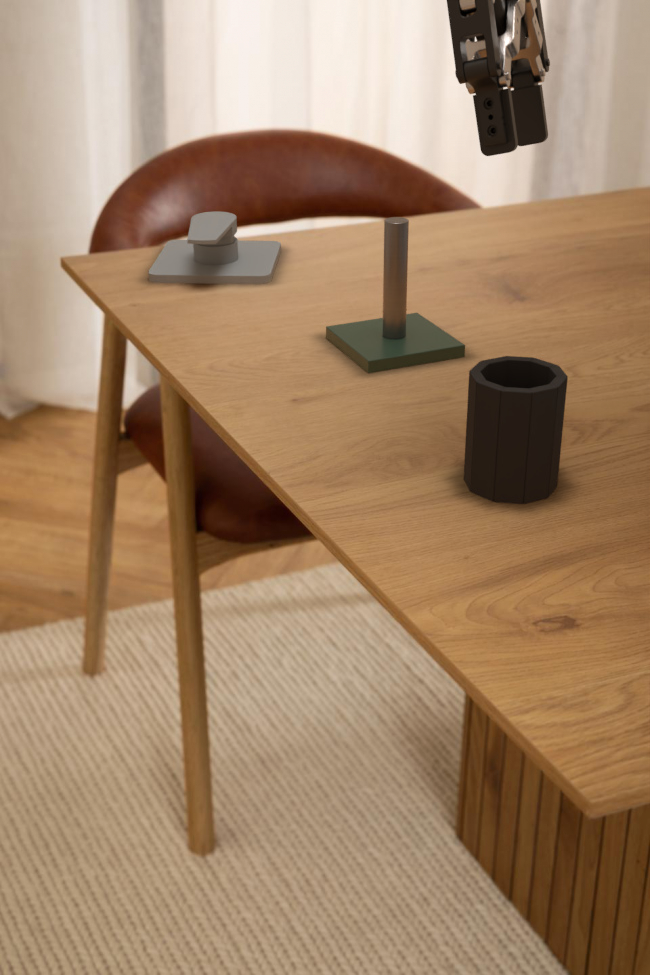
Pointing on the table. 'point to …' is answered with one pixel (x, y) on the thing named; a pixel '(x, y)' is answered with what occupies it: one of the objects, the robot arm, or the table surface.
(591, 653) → the table surface
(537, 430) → the faceted pencil cup
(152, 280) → the shower valve
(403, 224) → the holder
